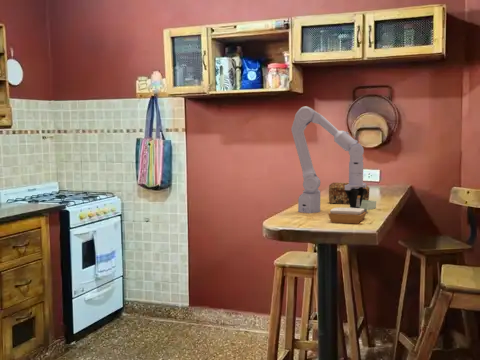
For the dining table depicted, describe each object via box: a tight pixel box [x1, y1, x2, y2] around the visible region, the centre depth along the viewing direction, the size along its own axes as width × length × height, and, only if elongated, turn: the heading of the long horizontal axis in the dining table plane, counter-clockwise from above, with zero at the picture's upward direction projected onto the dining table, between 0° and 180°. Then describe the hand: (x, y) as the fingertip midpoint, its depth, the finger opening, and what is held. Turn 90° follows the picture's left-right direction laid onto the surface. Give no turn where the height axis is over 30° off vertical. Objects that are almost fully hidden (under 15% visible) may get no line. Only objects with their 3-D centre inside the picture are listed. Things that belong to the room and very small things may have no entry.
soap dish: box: [327, 207, 368, 225], centre depth 211 cm, size 12×10×5 cm
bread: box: [328, 182, 370, 205], centre depth 268 cm, size 19×11×10 cm, turn 73°
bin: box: [349, 200, 377, 211], centre depth 242 cm, size 8×8×4 cm
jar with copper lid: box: [351, 195, 360, 208], centre depth 228 cm, size 4×4×7 cm
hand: (355, 206), depth 229 cm, fingers closed on jar with copper lid, 4 cm apart
